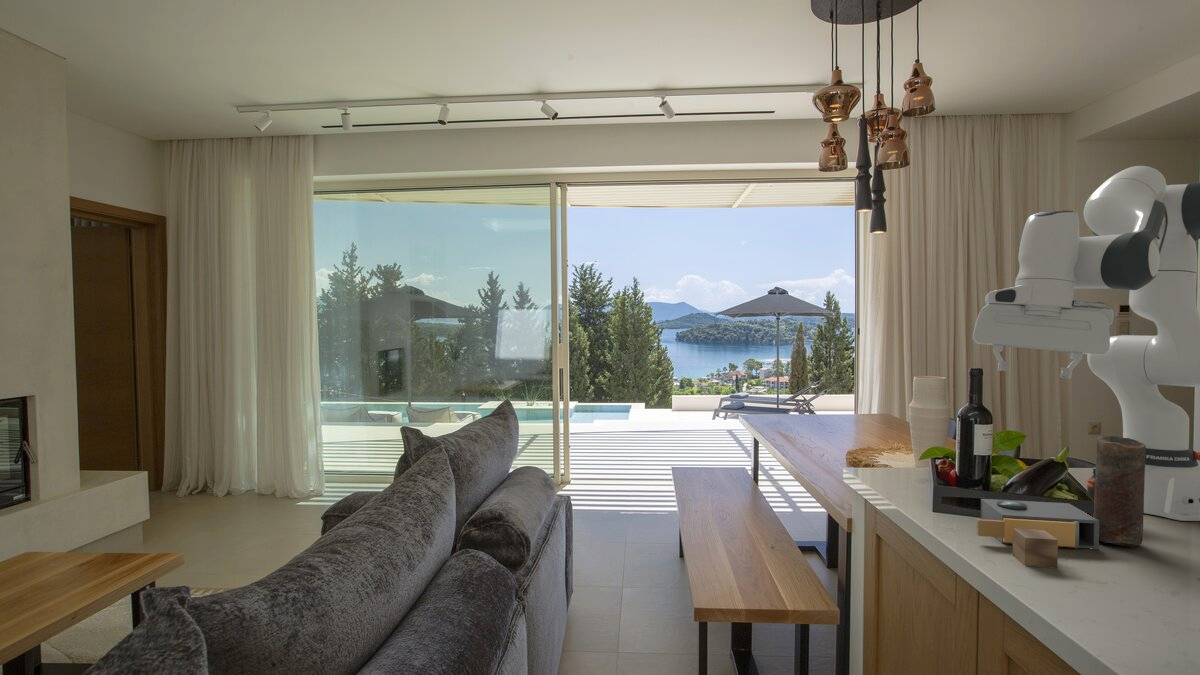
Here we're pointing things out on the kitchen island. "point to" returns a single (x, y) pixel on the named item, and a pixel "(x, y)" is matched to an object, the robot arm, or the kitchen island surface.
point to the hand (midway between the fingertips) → (1033, 374)
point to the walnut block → (1035, 548)
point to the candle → (1120, 490)
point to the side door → (1060, 530)
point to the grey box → (1043, 516)
